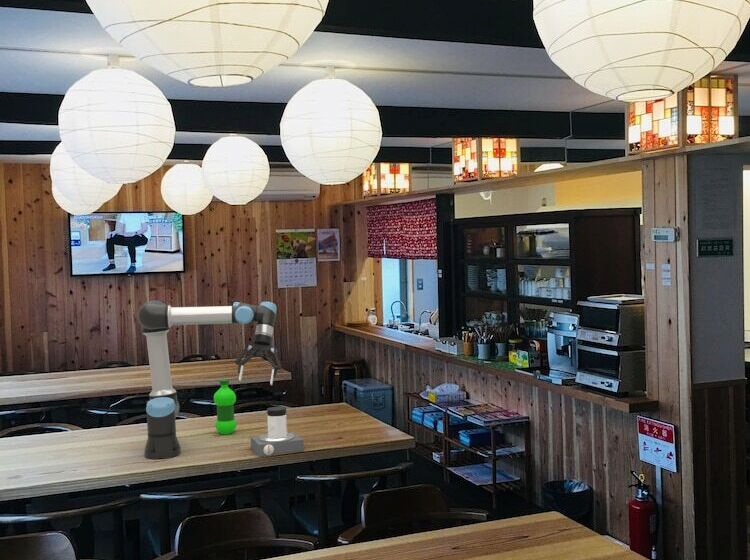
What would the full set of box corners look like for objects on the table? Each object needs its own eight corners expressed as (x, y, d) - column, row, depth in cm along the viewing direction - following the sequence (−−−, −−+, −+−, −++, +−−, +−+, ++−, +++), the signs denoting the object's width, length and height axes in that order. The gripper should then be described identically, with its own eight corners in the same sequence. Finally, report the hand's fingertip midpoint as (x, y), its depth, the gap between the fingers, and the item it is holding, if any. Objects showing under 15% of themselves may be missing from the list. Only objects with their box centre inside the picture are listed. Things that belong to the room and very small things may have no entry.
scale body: (259, 457, 337) (259, 445, 337) (251, 448, 352) (250, 436, 352) (303, 451, 344) (303, 439, 343) (293, 442, 359) (293, 431, 359)
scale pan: (263, 444, 338) (263, 442, 338) (255, 436, 352) (255, 434, 352) (298, 439, 344) (298, 438, 344) (289, 432, 358) (288, 430, 358)
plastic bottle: (225, 436, 374) (223, 382, 373) (210, 434, 381) (208, 381, 379) (241, 432, 382) (239, 379, 381) (226, 429, 389) (224, 377, 387)
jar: (263, 437, 346) (262, 409, 346) (274, 433, 354) (273, 405, 353) (280, 439, 342) (279, 411, 342) (291, 434, 349) (290, 407, 349)
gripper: (292, 342, 362) (284, 388, 354) (236, 335, 363) (228, 381, 354) (291, 336, 355) (283, 383, 347) (234, 330, 356) (225, 376, 347)
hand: (255, 382), depth 351 cm, fingers open, 13 cm apart
